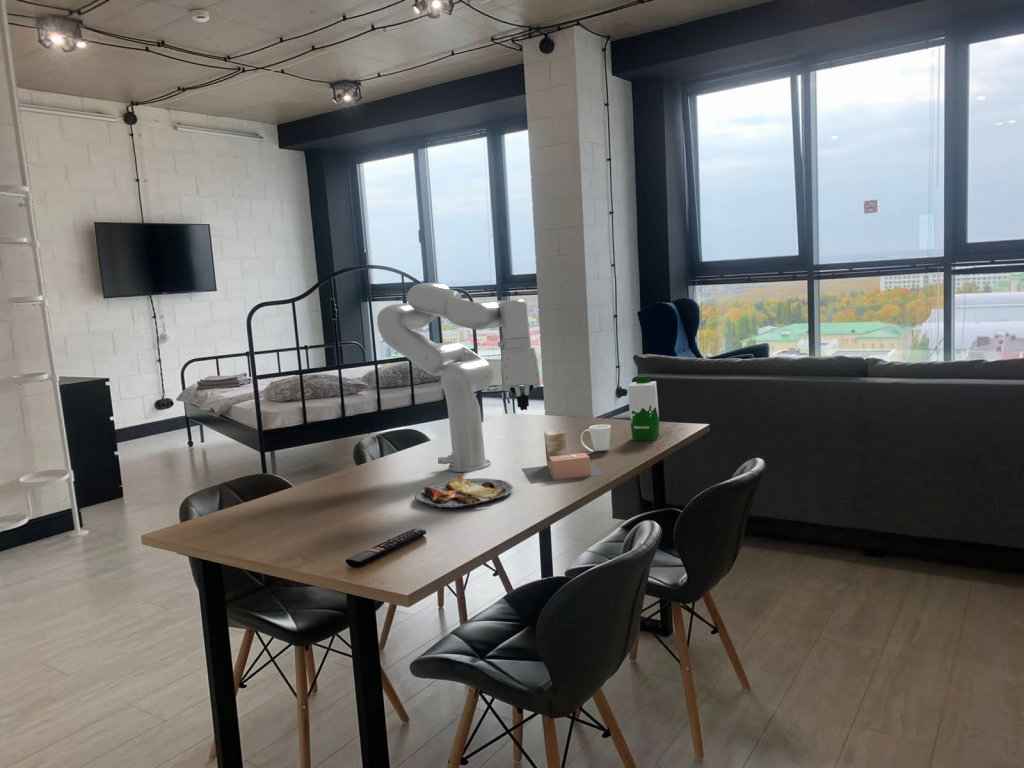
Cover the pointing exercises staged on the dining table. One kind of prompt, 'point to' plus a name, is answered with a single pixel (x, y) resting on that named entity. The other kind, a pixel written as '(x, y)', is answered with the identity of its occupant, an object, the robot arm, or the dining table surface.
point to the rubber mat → (544, 475)
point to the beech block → (555, 444)
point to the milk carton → (643, 409)
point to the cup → (599, 437)
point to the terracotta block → (570, 466)
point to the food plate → (463, 492)
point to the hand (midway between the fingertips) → (523, 409)
